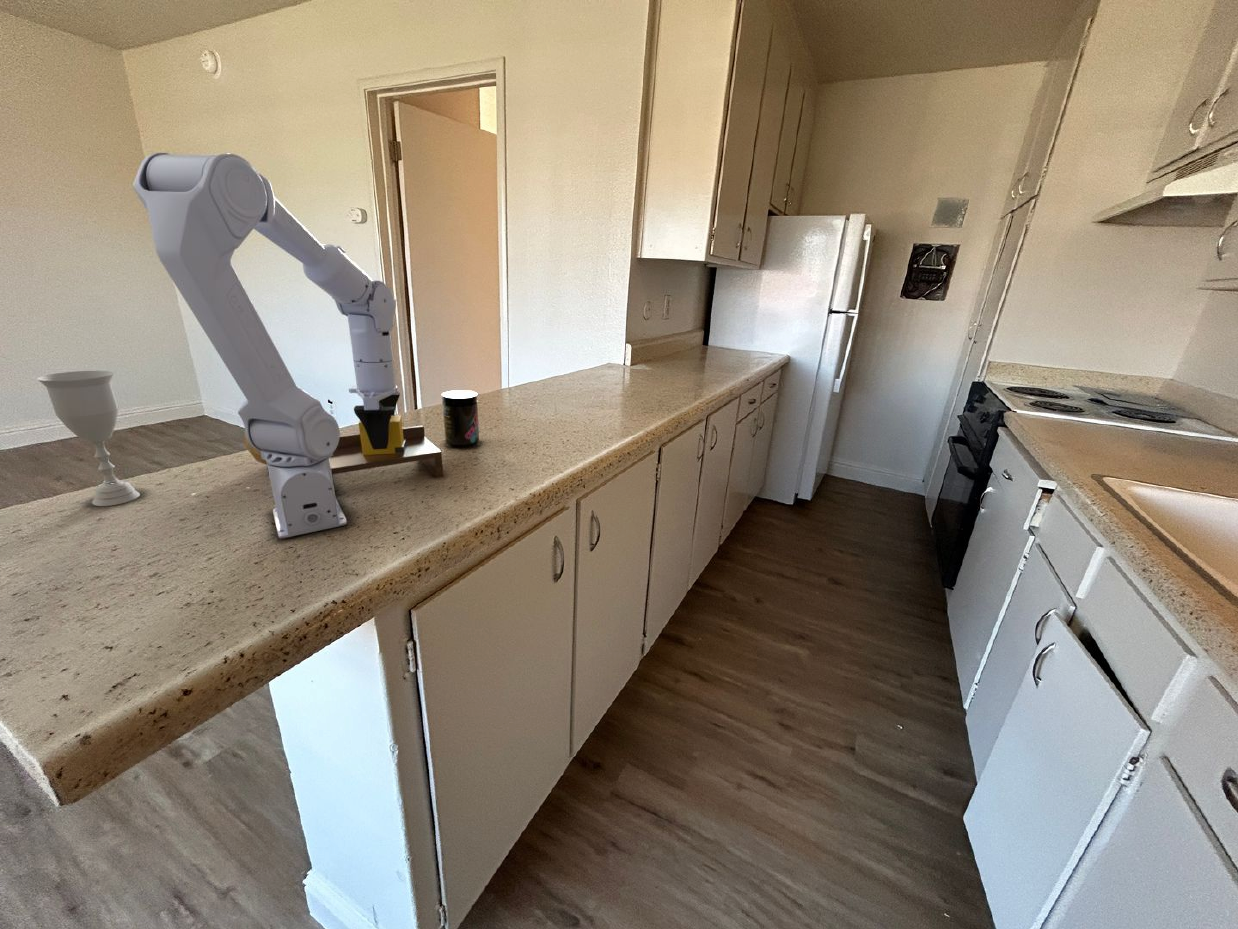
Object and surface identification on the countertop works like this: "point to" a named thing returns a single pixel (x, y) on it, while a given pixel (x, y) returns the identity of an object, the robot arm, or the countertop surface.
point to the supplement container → (460, 418)
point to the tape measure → (394, 443)
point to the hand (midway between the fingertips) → (383, 441)
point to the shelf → (416, 449)
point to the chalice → (90, 422)
